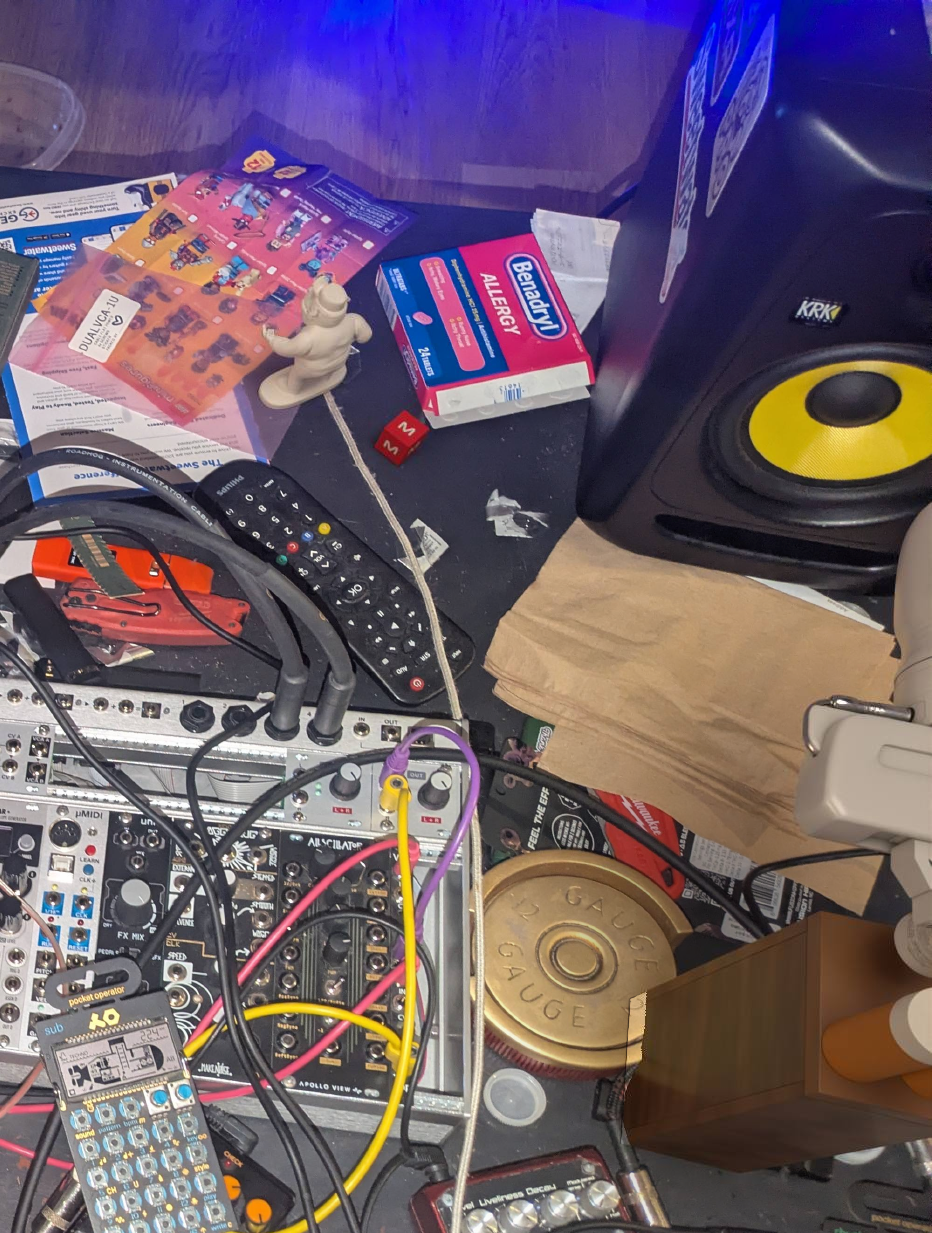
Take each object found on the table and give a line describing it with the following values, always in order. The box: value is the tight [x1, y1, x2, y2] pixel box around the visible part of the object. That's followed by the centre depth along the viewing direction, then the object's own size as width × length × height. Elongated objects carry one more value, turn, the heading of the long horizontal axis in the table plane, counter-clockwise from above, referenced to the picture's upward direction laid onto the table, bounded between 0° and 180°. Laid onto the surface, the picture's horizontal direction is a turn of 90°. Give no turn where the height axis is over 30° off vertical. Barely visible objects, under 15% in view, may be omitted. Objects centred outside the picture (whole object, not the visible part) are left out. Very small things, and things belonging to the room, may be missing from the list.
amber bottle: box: [822, 988, 932, 1083], centre depth 80 cm, size 4×4×8 cm
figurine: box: [257, 274, 373, 411], centre depth 128 cm, size 9×7×12 cm
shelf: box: [804, 910, 932, 1126], centre depth 85 cm, size 9×12×2 cm
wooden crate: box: [621, 916, 932, 1174], centre depth 97 cm, size 9×12×24 cm
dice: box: [373, 409, 430, 467], centre depth 128 cm, size 3×3×3 cm
